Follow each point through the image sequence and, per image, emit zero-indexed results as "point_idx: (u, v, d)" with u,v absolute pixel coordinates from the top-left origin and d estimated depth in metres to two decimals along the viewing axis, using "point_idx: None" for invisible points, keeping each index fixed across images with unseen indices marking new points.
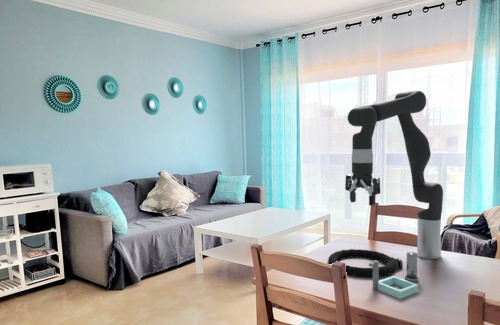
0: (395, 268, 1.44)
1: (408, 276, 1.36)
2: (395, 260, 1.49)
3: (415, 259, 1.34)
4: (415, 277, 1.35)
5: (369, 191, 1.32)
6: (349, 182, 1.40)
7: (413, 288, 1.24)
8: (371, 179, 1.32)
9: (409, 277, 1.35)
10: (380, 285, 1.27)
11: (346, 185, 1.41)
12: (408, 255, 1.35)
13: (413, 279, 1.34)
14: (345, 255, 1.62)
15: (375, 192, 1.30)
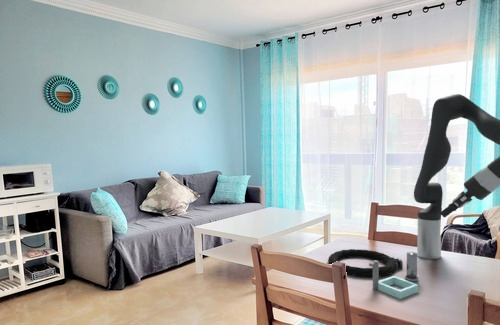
0: (395, 268, 1.44)
1: (408, 276, 1.36)
2: (395, 260, 1.49)
3: (415, 259, 1.34)
4: (415, 277, 1.35)
5: None
6: None
7: (413, 288, 1.24)
8: None
9: (409, 277, 1.35)
10: (380, 285, 1.27)
11: (458, 207, 1.19)
12: (408, 255, 1.35)
13: (413, 279, 1.34)
14: (345, 255, 1.62)
15: None
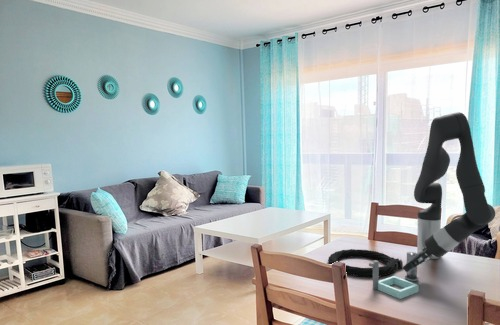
0: (395, 268, 1.44)
1: (408, 276, 1.36)
2: (395, 260, 1.49)
3: None
4: (415, 277, 1.35)
5: None
6: None
7: (413, 288, 1.24)
8: None
9: (409, 277, 1.35)
10: (380, 285, 1.27)
11: (417, 265, 1.30)
12: (408, 255, 1.35)
13: (413, 279, 1.34)
14: (345, 255, 1.62)
15: None
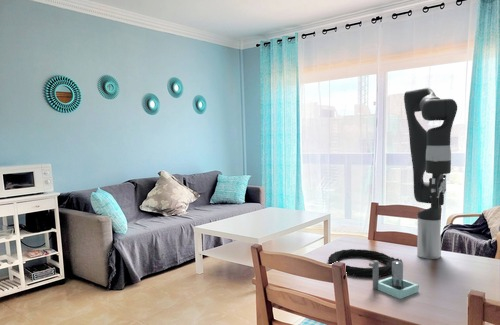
0: None
1: (393, 287, 1.26)
2: (395, 260, 1.49)
3: (401, 269, 1.25)
4: (401, 288, 1.25)
5: (444, 189, 1.24)
6: None
7: (413, 288, 1.24)
8: None
9: None
10: (380, 285, 1.27)
11: (437, 190, 1.16)
12: (393, 264, 1.26)
13: None
14: (345, 255, 1.62)
15: (445, 189, 1.26)
